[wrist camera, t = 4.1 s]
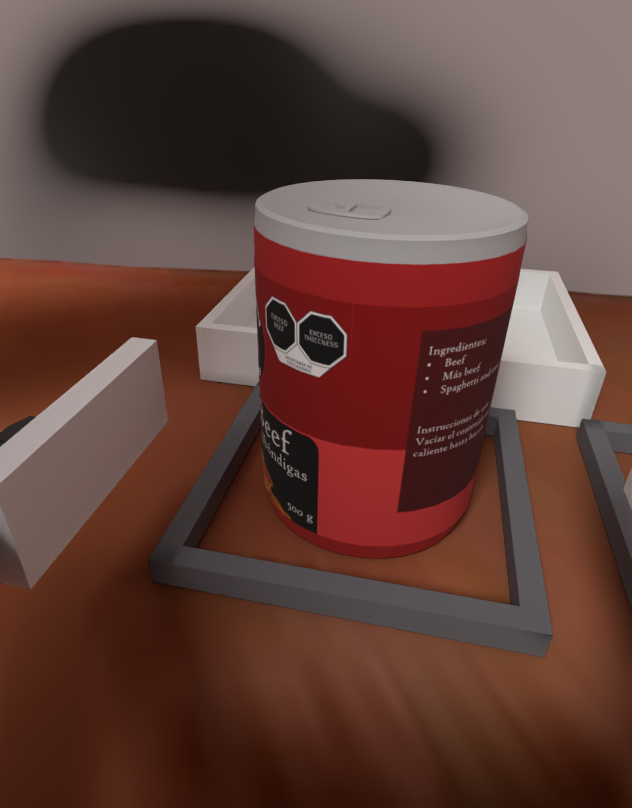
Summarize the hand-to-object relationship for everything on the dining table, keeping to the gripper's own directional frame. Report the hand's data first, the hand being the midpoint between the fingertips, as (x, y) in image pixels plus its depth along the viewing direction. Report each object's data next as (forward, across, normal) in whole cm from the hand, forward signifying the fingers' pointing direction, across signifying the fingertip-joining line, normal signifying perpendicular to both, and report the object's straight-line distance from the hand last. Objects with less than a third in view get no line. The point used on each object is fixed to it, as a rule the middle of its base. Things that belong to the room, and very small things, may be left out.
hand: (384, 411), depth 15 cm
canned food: (+4, -1, -7) cm, 8 cm away
